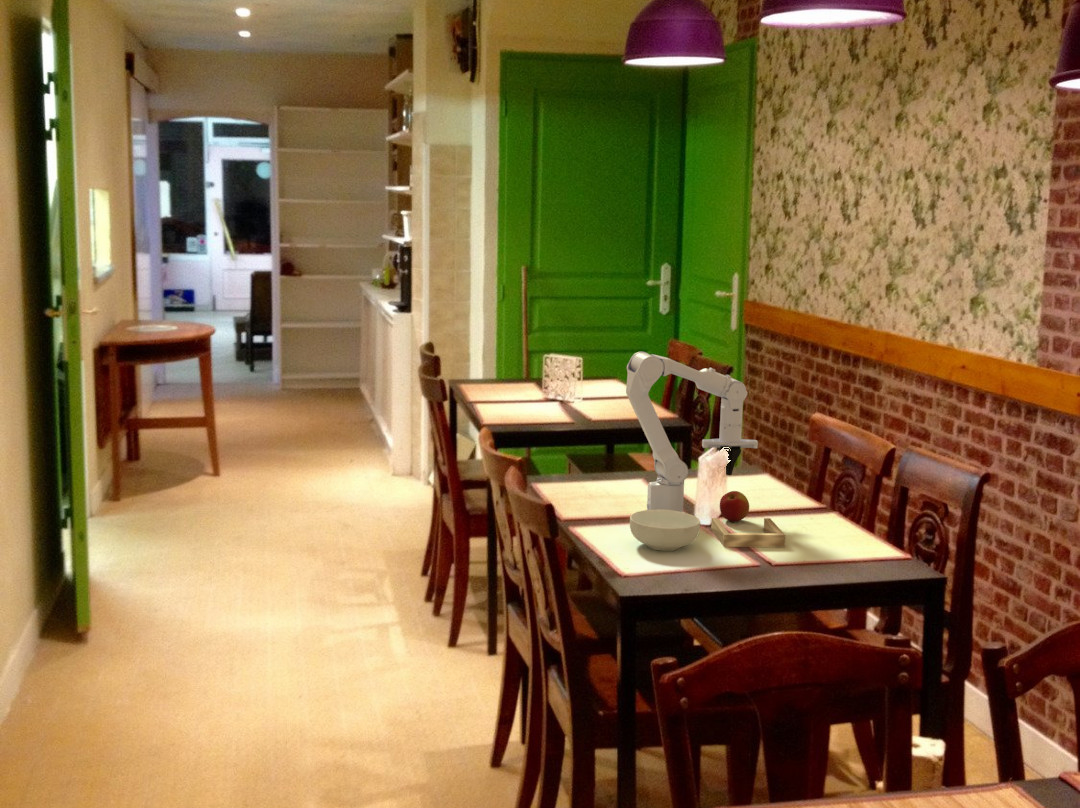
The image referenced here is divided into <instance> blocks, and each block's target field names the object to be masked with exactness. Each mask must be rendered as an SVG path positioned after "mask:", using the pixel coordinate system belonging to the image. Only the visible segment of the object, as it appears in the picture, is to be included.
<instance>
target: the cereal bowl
mask: <svg viewBox="0 0 1080 808" xmlns="http://www.w3.org/2000/svg"><path fill="white" fill-rule="evenodd" d="M629 529H630V532H631V534H632V536H633V537H634V538H635V539H636V540H637V541H638V542H640V543H642V544H644V545H647V548H650V549H652V550H657V551H663V552H667V551H668V552H669V551H676V550H679V549H680V548H683V547H686V546H688V545H690V544H692V543H693V542H694V541H695V540H696V539H697V538H698V536H699V533H700V529H701V519H700V518H699V517H697V516H695V515H693V514H690V513H689V512H688V513H687V512H684V511H683V512H680V511H673V510H659V509H656V510H647V509H644V510H639V511H636V512H633V513H632V514H630V516H629Z"/></svg>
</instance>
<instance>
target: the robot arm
mask: <svg viewBox="0 0 1080 808" xmlns="http://www.w3.org/2000/svg"><path fill="white" fill-rule="evenodd" d="M626 371H627V376H626V378H627V379H626V387H625V388H626V389H625V391H626V392H625V393H626V396H627V399H628V401H629V402H630V405H631V407H632V410H633V412H634V413H635V415H636V418H637V420H638V422H639V425H640V427H641V429H642V432H644V433H643V434H644V436H645V437H646V439H647V441H648V444H649V445H650V448H651V451H652V458H653V460H654V461H653V462H654V471H655V473H656V474H657V476H656V477H657V478H656V481H650V482H648V484H647V496H646V497H647V498H646V499H647V500H646V501H647V502H646V510H656V509H659V510H673V511H680V512H684V497H685V495H684V494H685V493H684V492H685V481H686V480H687V478H688V476H689V469H688V468H689V467H688V465H687V463H685V462H684V461H683V460H682V459H680V457H679V454H678V453H677V452H676V450H675V449H674V448H673V446H672V444H671V442H670V440H669V438H668V435H667V433H666V431H665V428H664V427H663V424H662V422H661V421H660V418H659V416H658V414H657V412H656V409H655V407H654V405H653V403H652V400H651V398H650V396H649V392H650V391H651V388H652V386H653V385H654V384H655V383H656V382H657V381H658V380H659V378H660V377H661V376H662V377H666V376H668V375H671V374H672V375H674V376H677V377H680V378H682V379H686V380H687V381H688V380H689V381H692V382H694V383H695V385H696V388H697V389H699V390H701V391H704V392H706V393H708V394H712V395H714V396H716V397H720V398H721V400H720V402H721V403H720V421H719V435H718V436H719V438H711V439H710V438H709V439H708V438H706V439H702V442H701V446H702V448H703V449H708V448H718V451H719V452H720V450H721V449H722V448H723V447H729V448H730V449H731V451H730V449H729V448H724V449H729V451H727V450H726V451H727V452H728V454H729V456H728V458H729V459H728V460H731V461H730V462H729V463H728V464H727V466H726V474H725V476H732V475H733V471H734V467H735V464H736V463H737V460H738V459H739V457H740V455H741V453H742V449H747V448H748V449H750V448H751V449H759V448H758V446H759V445H758V444H759V441H758V440H756V439H747V438H746V439H743V438H742V429H743V428H742V427H743V426H742V425H743V408H744V407H743V406H744V401H745V399H746V398H747V396H748V391H747V387H746V385H745V384H744V383H743V382H742V381H740V380H737V379H735V378H732V376H731V375H729V374H721V373H720V372H717V371H716V369H715V368H712V367H709V368H702V369H700V370H697V369H695V368H692V367H691V366H688V365H685V364H683V363H680V362H678V361H676V360H674V359H672V358H669V357H665V356H661V355H657V354H653V353H651V354H649V353H648V352H646V351H638V352H635V353H633V355H632V356H631V357H630V359H629V361H628V363H627V365H626ZM741 448H742V449H741Z"/></svg>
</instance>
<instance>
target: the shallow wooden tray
mask: <svg viewBox="0 0 1080 808" xmlns="http://www.w3.org/2000/svg"><path fill="white" fill-rule="evenodd" d="M710 529H711V531H712V532H713V534H714V535H715V537H716V538H717V540H718V541H719V542H720V544H721V545H722V546H723V548H785V547H786V534H785V533H784V532H783V531H782V529H780V527H779V526H778V525H777V524H776V523H775V522H774V521H773V520H772V518H769V517H767V518H765V517H764V518H763V531H764V532H765V533H763V532H761V533H759V532H757V533H754V532H753V533H749V532H745V533H744V532H743V533H742V532H741V533H740V532H737V533H736V532H734V533H733V532H729V531H728V530H727V528H726V527H725V526H724V524H723V523H722V522H721V521H720V519H719V518H718V517H711V527H710Z"/></svg>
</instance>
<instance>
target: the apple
mask: <svg viewBox="0 0 1080 808" xmlns="http://www.w3.org/2000/svg"><path fill="white" fill-rule="evenodd" d="M719 510H720V514H721V515H722V517H723V518H724V519H725V520H727V521H728V522H732V523H733V522H735V523H736V522H740V521H741V520H743V519H744V518H746V517H747V516H748V514H749V512H750V503H749V500H748V498H747V496H746V495H745V494H744V493H743V492H740V491H737V490H732V491H729V492H727V493H725V494H723V495H722V496H721V498H720V501H719Z"/></svg>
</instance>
